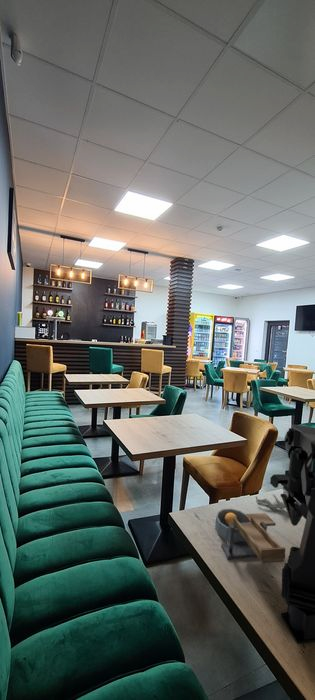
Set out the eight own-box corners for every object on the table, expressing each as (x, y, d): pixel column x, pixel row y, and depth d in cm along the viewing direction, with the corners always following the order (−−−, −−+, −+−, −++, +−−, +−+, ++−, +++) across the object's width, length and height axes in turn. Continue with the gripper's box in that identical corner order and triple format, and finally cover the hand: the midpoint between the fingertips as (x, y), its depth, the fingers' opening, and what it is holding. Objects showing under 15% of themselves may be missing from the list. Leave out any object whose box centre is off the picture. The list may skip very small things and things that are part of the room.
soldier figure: (257, 501, 120) (290, 498, 116) (260, 514, 116) (293, 512, 113) (254, 494, 114) (288, 491, 111) (257, 508, 111) (292, 505, 108)
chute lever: (310, 560, 78) (310, 546, 78) (258, 564, 75) (258, 550, 76) (265, 516, 99) (265, 505, 100) (223, 518, 97) (224, 507, 97)
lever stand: (269, 556, 89) (272, 529, 88) (227, 559, 87) (230, 531, 86) (261, 544, 94) (264, 518, 93) (221, 546, 92) (223, 520, 91)
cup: (256, 541, 95) (258, 529, 95) (223, 543, 93) (224, 531, 93) (241, 519, 106) (242, 508, 105) (210, 520, 104) (211, 509, 104)
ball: (234, 523, 103) (239, 528, 99) (223, 524, 102) (227, 528, 99) (234, 510, 104) (239, 514, 100) (222, 511, 103) (227, 515, 99)
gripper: (353, 488, 76) (345, 547, 78) (305, 455, 95) (299, 503, 96) (312, 489, 74) (305, 550, 76) (271, 456, 93) (266, 505, 94)
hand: (294, 524), depth 85 cm, fingers closed
